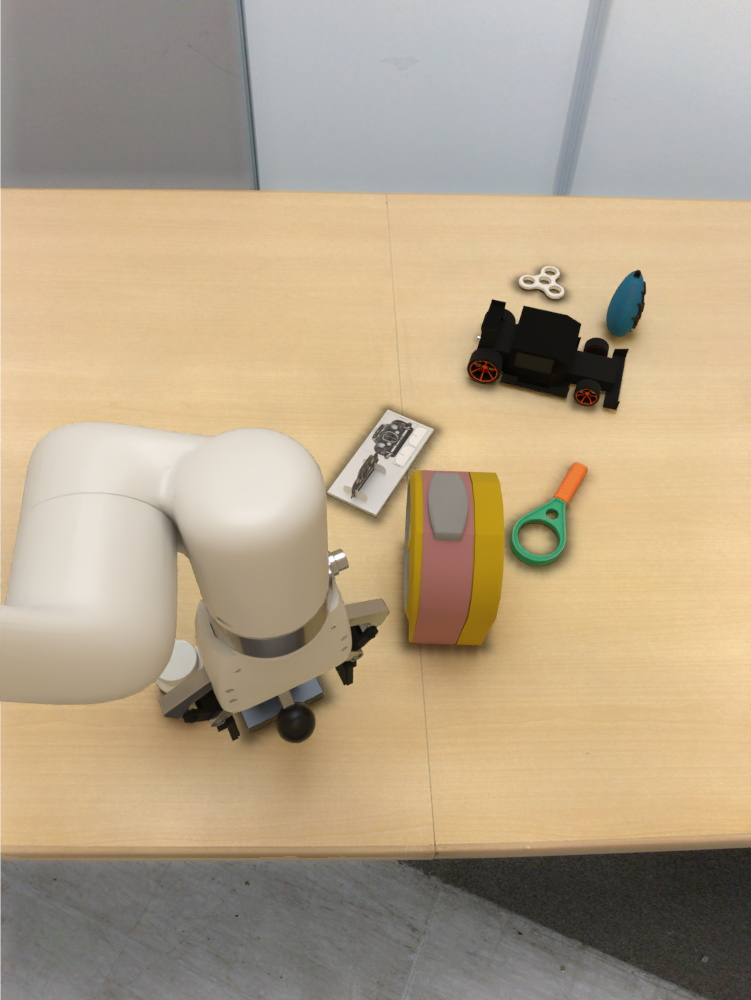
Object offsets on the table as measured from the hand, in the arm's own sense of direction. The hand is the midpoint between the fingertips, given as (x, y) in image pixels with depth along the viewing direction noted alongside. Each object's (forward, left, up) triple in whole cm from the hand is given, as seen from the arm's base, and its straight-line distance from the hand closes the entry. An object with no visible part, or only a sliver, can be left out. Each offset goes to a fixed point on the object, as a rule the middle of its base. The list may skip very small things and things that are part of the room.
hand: (286, 695), depth 59 cm
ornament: (+64, +33, -14) cm, 74 cm away
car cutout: (+23, +27, -14) cm, 38 cm away
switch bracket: (0, +9, -14) cm, 17 cm away
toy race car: (+50, +31, -14) cm, 61 cm away
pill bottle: (-7, +10, -14) cm, 19 cm away
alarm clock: (+20, +8, -14) cm, 26 cm away
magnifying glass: (+37, +11, -14) cm, 42 cm away
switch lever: (0, +6, -7) cm, 9 cm away
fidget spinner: (+60, +45, -14) cm, 77 cm away
